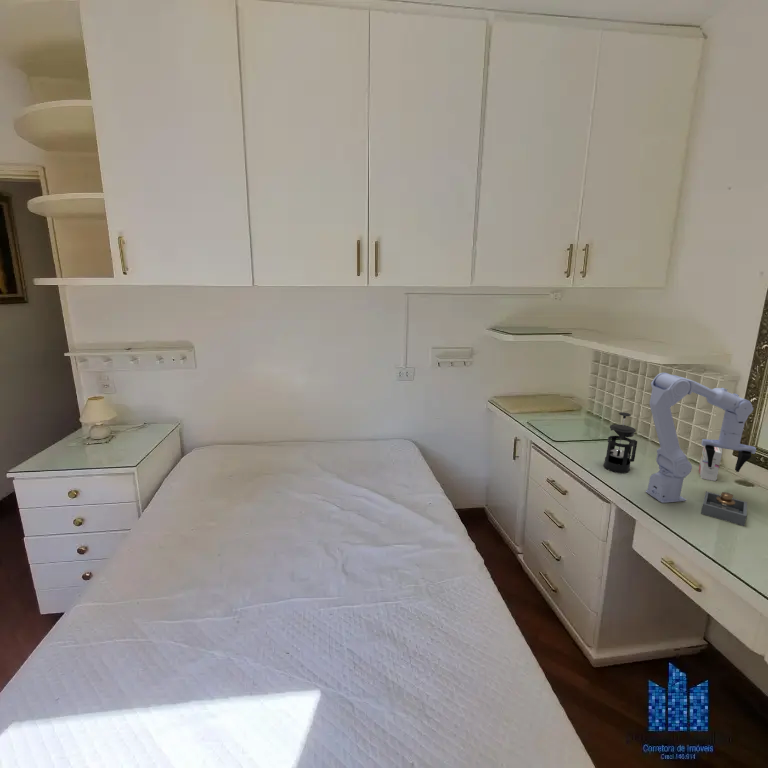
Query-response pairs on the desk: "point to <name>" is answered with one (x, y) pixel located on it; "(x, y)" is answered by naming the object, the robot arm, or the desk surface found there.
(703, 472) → the ink cartridge box
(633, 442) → the french press
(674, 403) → the robot arm
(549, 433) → the desk surface
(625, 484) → the desk surface
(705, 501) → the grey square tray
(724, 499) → the plunger
